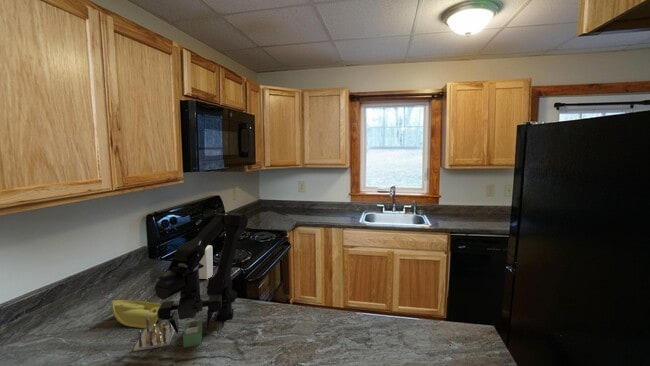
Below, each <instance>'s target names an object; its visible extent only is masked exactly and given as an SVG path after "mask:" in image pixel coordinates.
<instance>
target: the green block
mask: <svg viewBox="0 0 650 366" xmlns="http://www.w3.org/2000/svg"><path fill="white" fill-rule="evenodd" d="M202 336H203V320H202V319H199V320H192V321H189V322H185V326H184V330H183V335H182V340H183V341H182V343H183V348H188V347H193V346H198V345H201V344H202V338H203V337H202Z"/></svg>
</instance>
